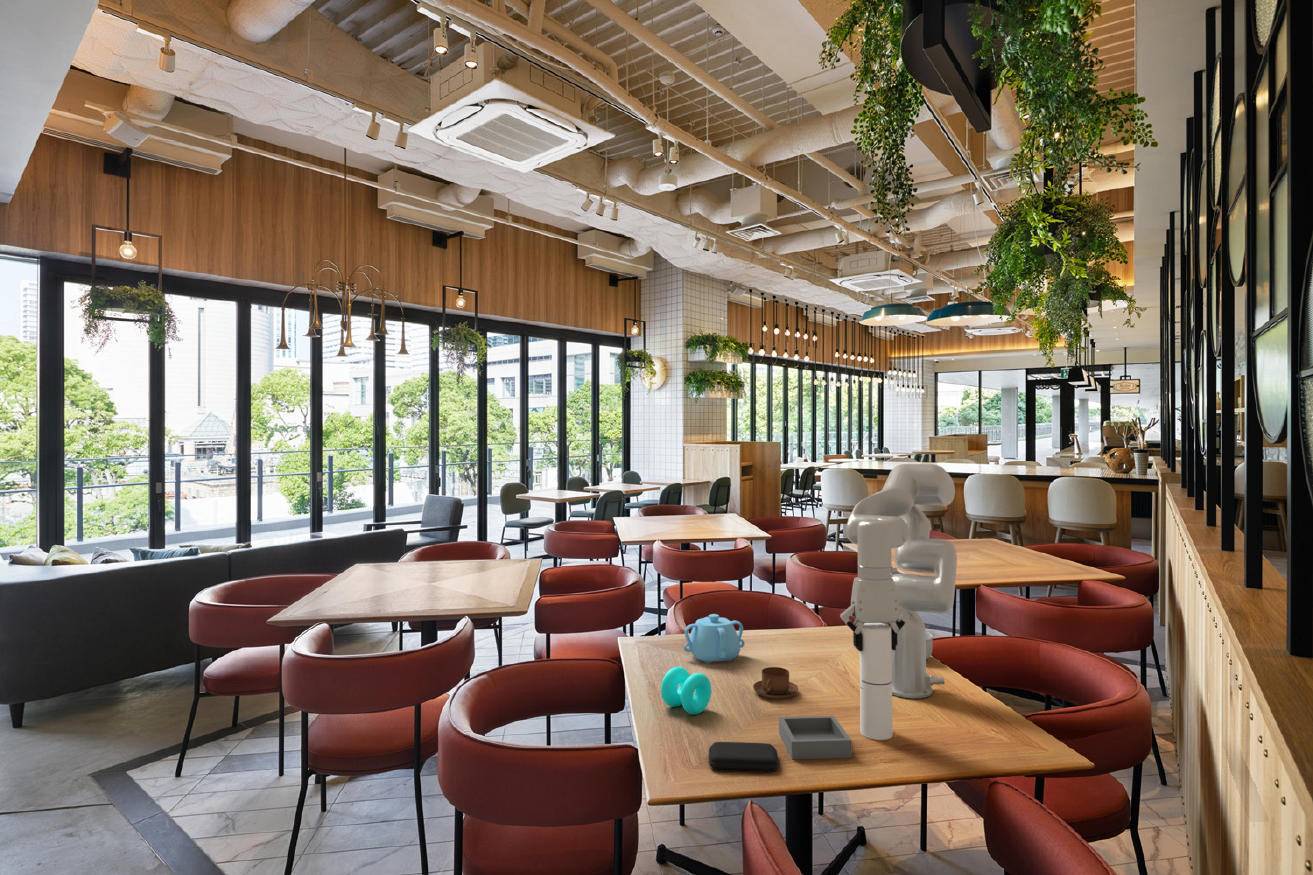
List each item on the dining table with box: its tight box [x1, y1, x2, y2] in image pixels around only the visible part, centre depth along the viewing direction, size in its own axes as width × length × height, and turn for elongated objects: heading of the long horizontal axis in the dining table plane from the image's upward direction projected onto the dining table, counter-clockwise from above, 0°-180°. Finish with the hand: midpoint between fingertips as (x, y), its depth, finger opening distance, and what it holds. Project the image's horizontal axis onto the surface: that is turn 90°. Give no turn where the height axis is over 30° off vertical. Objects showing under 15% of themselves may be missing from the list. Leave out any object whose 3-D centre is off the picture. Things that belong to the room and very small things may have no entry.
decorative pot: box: [683, 613, 745, 664], centre depth 216 cm, size 16×16×14 cm
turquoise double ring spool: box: [660, 666, 712, 715], centre depth 176 cm, size 10×10×10 cm
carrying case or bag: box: [708, 741, 780, 773], centre depth 148 cm, size 11×3×15 cm
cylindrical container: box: [859, 623, 894, 741], centre depth 161 cm, size 7×7×25 cm
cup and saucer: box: [752, 666, 799, 700], centre depth 186 cm, size 12×12×6 cm
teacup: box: [926, 630, 934, 660], centre depth 214 cm, size 14×11×8 cm
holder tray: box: [778, 715, 853, 760], centre depth 155 cm, size 13×13×4 cm
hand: (875, 648), depth 161 cm, fingers closed on cylindrical container, 7 cm apart
